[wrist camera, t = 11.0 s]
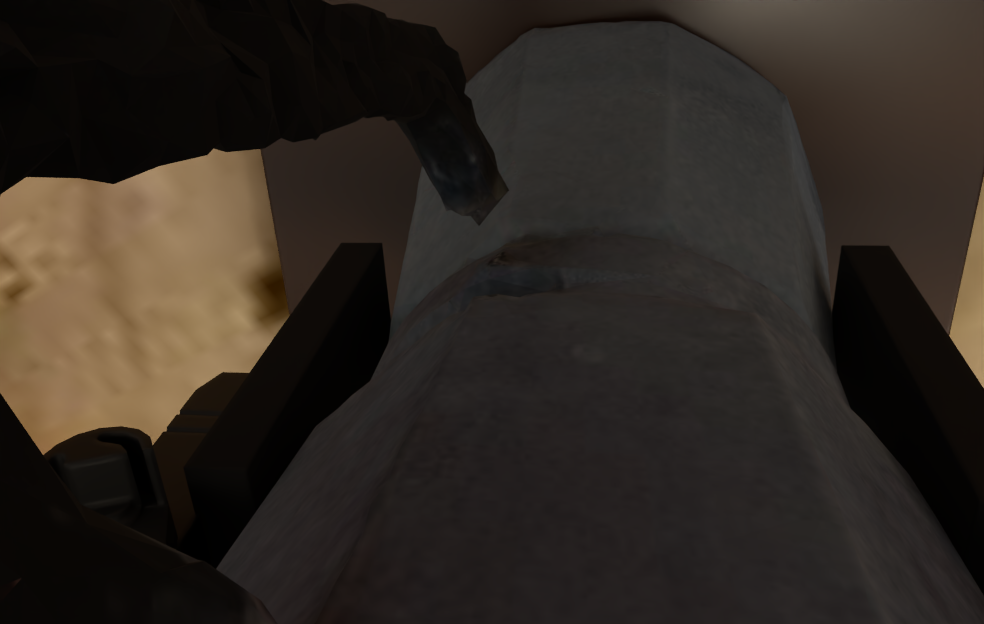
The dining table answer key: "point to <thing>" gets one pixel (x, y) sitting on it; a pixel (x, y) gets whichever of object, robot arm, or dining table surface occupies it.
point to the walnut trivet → (766, 49)
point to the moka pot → (499, 338)
